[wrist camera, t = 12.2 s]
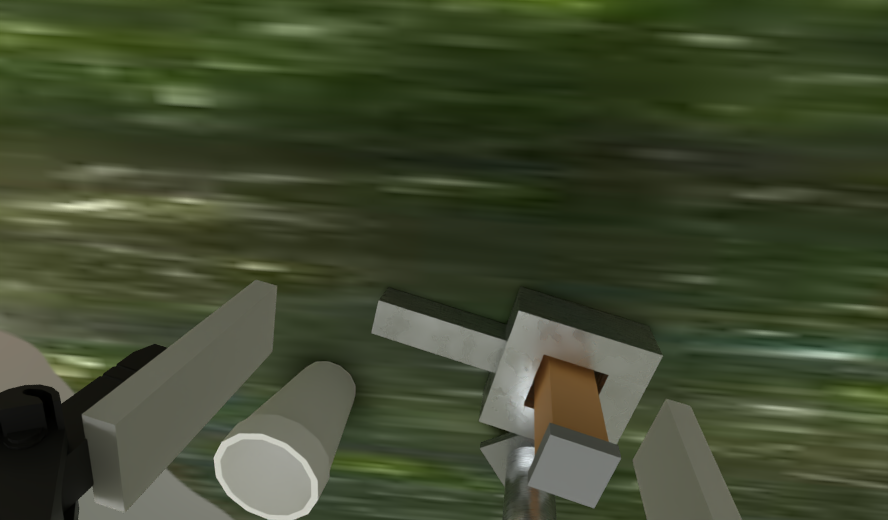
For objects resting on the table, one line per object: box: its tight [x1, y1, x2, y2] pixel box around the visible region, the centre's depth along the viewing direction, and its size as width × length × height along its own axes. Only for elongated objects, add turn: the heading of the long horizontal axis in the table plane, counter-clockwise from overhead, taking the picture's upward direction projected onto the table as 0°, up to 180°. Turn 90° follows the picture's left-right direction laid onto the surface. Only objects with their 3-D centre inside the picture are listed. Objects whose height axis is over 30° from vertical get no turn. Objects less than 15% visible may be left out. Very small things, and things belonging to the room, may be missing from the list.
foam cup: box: [214, 361, 356, 520], centre depth 45 cm, size 10×9×13 cm
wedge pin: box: [527, 355, 621, 508], centre depth 38 cm, size 5×5×14 cm
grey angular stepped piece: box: [372, 286, 663, 520], centre depth 38 cm, size 20×24×18 cm
